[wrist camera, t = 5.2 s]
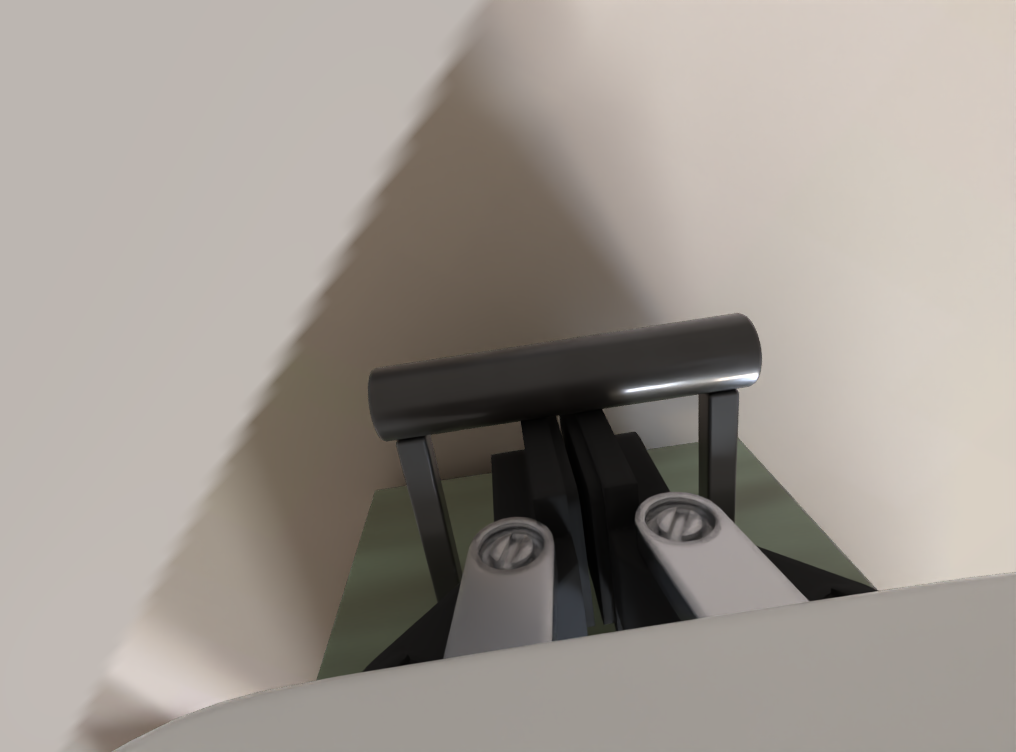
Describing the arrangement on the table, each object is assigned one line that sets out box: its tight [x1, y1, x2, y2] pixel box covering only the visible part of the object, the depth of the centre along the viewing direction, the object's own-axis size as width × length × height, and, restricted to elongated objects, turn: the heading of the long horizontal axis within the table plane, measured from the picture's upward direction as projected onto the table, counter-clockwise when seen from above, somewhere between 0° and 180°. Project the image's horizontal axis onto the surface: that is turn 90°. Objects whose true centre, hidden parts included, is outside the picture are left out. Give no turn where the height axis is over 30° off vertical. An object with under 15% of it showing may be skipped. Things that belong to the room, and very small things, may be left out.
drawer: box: [317, 313, 877, 680], centre depth 14 cm, size 19×11×8 cm, turn 8°
